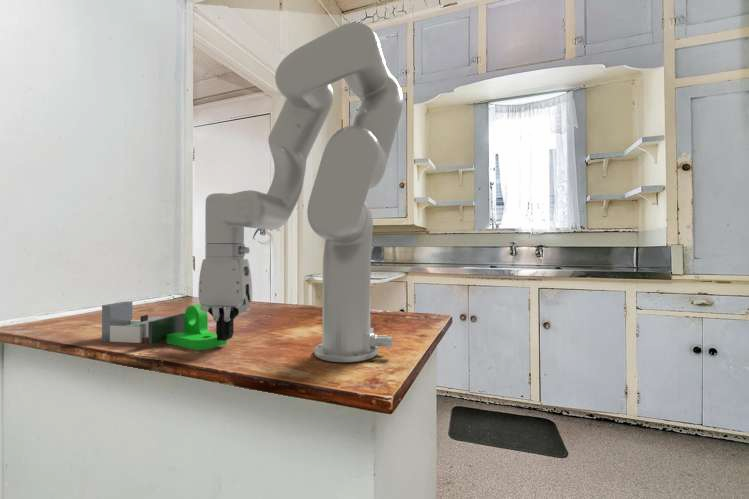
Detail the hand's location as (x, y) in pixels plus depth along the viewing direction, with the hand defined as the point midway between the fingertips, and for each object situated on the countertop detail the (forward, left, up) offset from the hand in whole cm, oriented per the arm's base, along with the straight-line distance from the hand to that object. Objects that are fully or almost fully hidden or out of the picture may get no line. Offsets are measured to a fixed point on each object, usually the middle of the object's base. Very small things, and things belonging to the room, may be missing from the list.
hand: (224, 338), depth 73 cm
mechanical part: (+8, -1, -2) cm, 8 cm away
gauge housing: (+25, -3, -2) cm, 25 cm away
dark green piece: (+18, -2, -1) cm, 18 cm away
